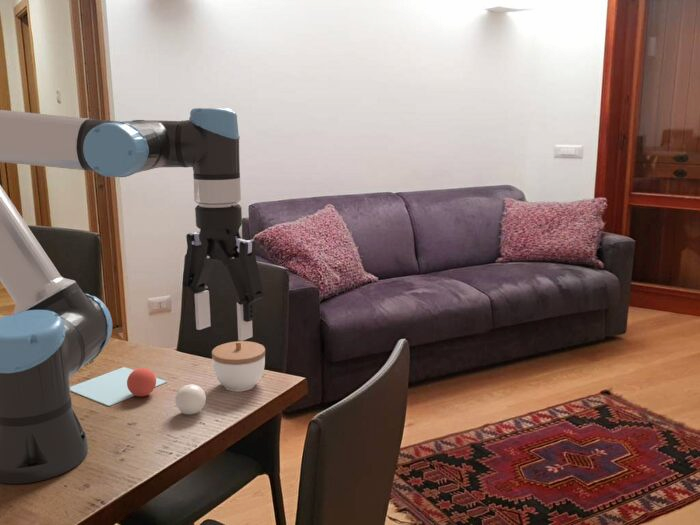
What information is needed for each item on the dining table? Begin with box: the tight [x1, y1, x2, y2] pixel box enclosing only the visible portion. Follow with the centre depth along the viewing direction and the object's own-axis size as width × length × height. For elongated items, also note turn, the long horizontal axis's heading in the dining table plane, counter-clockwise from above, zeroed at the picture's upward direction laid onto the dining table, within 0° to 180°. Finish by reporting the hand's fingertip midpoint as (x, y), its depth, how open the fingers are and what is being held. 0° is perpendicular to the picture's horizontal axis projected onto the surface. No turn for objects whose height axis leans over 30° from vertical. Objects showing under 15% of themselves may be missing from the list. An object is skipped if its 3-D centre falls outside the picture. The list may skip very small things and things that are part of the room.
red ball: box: [127, 367, 157, 397], centre depth 131 cm, size 6×6×6 cm
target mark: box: [70, 366, 168, 407], centre depth 136 cm, size 14×14×1 cm
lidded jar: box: [211, 340, 266, 393], centre depth 135 cm, size 11×11×9 cm
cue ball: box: [175, 383, 207, 415], centre depth 123 cm, size 6×6×6 cm
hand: (224, 332), depth 115 cm, fingers open, 9 cm apart
